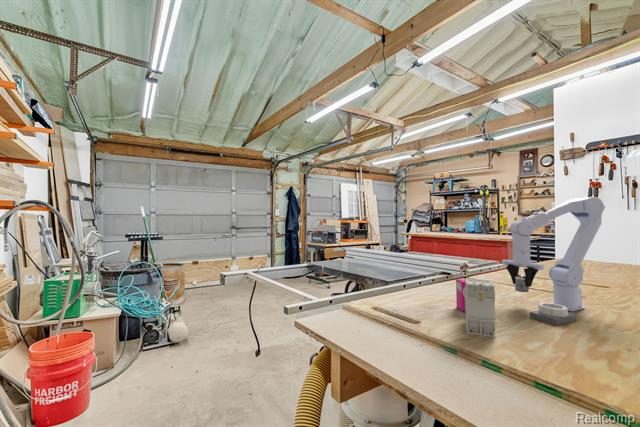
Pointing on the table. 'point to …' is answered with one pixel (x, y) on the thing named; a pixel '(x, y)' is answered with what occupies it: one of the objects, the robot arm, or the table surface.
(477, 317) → the circuit breaker
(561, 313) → the camera body
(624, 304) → the table surface
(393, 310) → the table surface
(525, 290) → the lens
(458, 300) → the supplement box
